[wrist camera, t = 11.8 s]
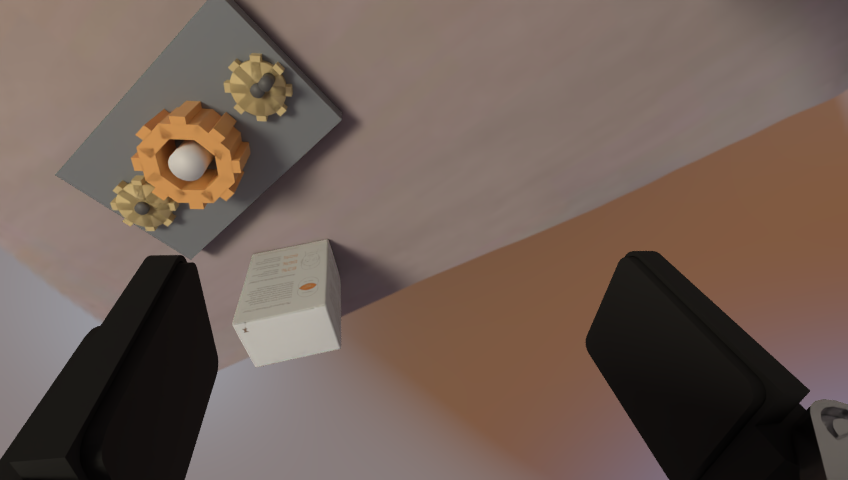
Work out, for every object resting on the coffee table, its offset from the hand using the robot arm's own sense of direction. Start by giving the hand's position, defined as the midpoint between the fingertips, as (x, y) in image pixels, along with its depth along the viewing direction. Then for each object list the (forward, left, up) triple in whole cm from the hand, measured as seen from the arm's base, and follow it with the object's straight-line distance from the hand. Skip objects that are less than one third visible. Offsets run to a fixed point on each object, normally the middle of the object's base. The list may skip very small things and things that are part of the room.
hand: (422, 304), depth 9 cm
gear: (+14, -4, -28) cm, 32 cm away
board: (+15, -4, -30) cm, 34 cm away
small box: (+19, +10, -31) cm, 38 cm away
